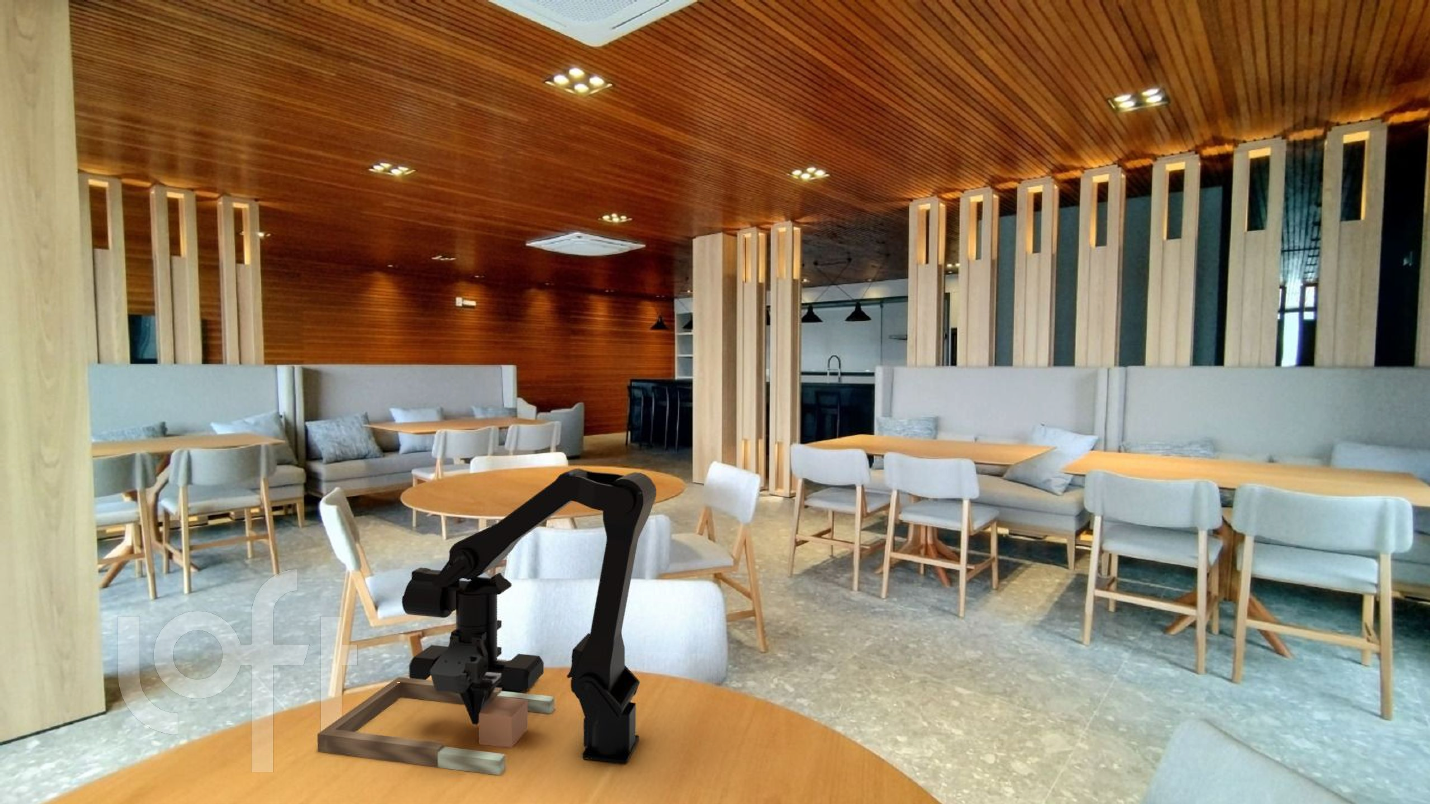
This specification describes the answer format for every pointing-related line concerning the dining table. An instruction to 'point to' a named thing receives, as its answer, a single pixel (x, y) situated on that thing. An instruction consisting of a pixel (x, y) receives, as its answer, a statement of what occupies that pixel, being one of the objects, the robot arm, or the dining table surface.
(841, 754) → the dining table surface
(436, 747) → the bay
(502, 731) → the block
